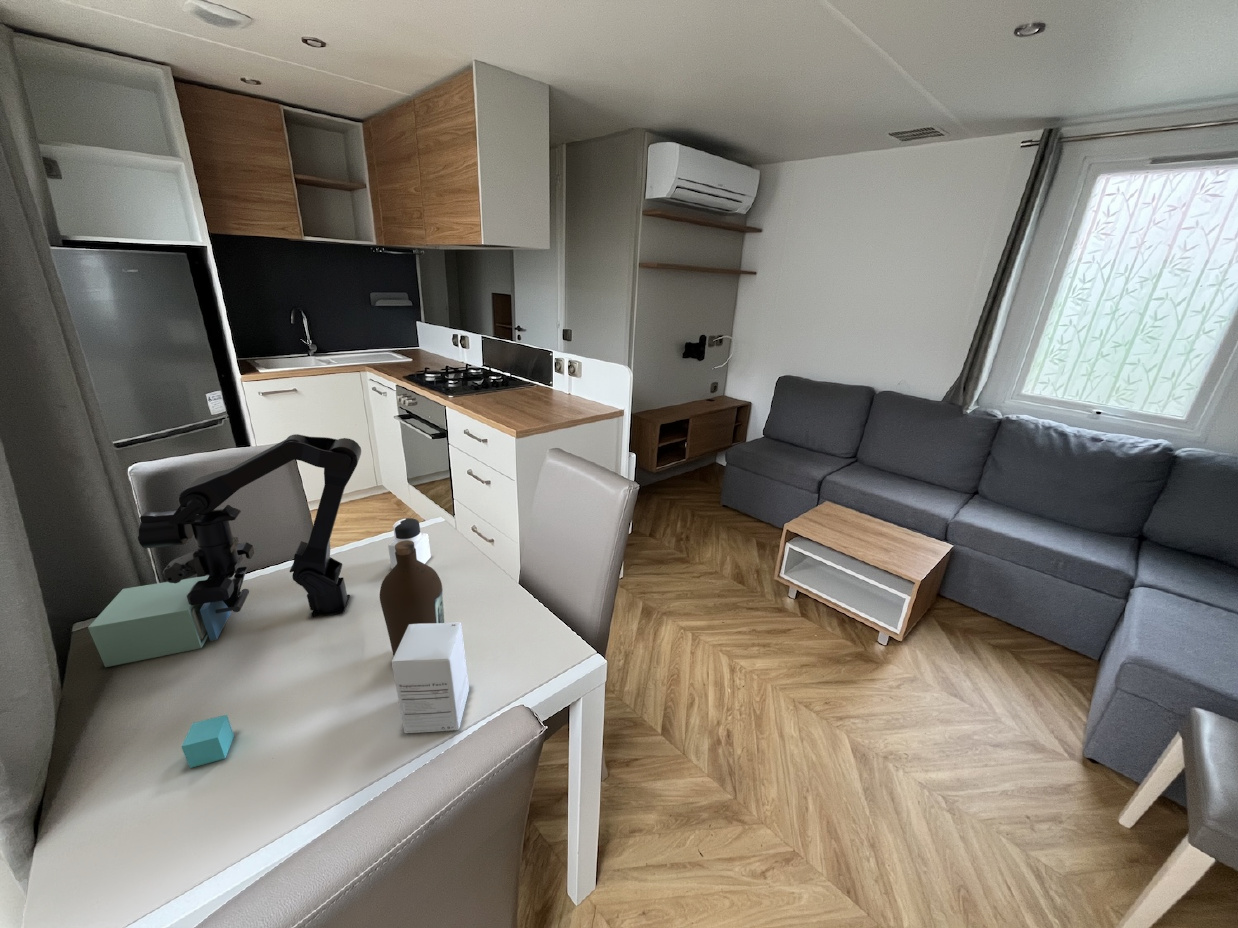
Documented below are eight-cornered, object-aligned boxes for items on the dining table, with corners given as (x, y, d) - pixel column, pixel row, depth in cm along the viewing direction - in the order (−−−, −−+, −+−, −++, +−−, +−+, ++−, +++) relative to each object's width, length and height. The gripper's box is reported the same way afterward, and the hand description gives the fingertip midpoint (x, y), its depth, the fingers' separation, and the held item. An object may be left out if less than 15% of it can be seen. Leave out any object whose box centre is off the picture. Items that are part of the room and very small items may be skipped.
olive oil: (389, 683, 89) (368, 564, 81) (393, 645, 99) (374, 534, 90) (451, 669, 93) (436, 554, 84) (449, 633, 102) (435, 526, 93)
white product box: (418, 690, 88) (408, 622, 83) (470, 688, 89) (462, 620, 83) (402, 734, 79) (389, 661, 74) (459, 731, 80) (450, 658, 75)
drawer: (257, 601, 109) (249, 573, 107) (242, 634, 99) (233, 604, 97) (156, 619, 103) (145, 590, 100) (130, 656, 93) (117, 624, 91)
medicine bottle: (431, 557, 130) (426, 516, 126) (418, 572, 123) (412, 529, 119) (405, 555, 130) (399, 514, 126) (391, 569, 124) (384, 527, 120)
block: (234, 735, 79) (227, 714, 77) (225, 758, 75) (217, 737, 73) (200, 743, 77) (192, 722, 76) (189, 768, 73) (181, 746, 72)
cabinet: (222, 610, 108) (211, 574, 104) (201, 648, 97) (188, 609, 94) (137, 625, 102) (122, 588, 99) (105, 667, 92) (87, 627, 88)
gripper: (182, 524, 102) (200, 588, 107) (140, 571, 86) (164, 644, 91) (247, 517, 106) (261, 579, 111) (218, 561, 90) (236, 631, 95)
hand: (232, 606), depth 102 cm, fingers closed, pressing on drawer
